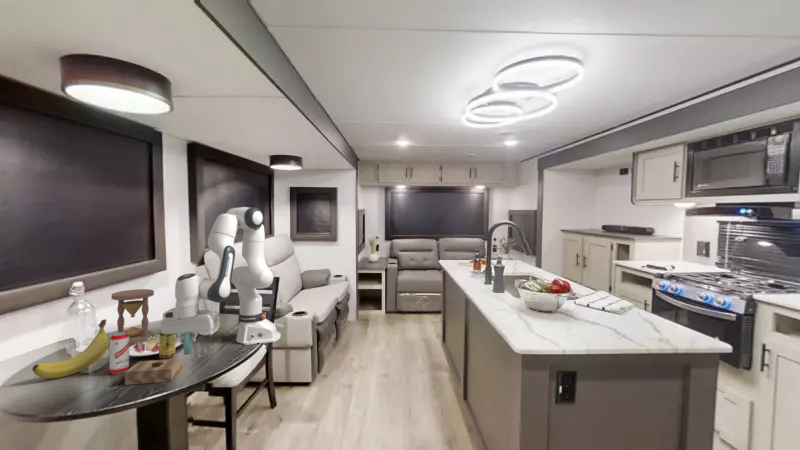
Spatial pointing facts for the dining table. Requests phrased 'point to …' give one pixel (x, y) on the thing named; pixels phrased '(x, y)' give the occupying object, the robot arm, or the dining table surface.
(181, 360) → the socket block
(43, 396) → the dining table surface
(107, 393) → the dining table surface
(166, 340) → the sauce bottle
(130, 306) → the hourglass
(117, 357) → the beer can
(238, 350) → the dining table surface
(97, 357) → the banana
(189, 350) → the peg
